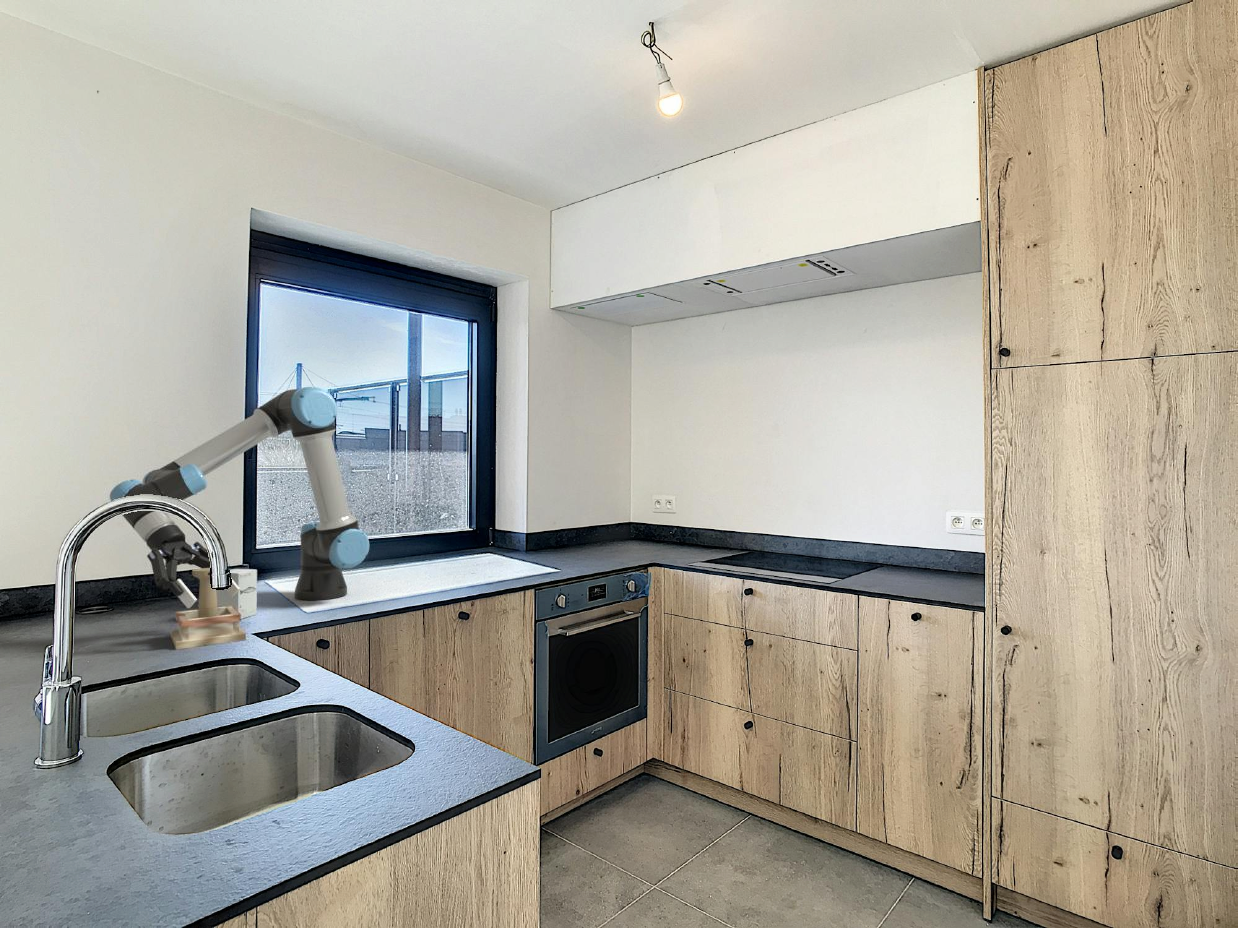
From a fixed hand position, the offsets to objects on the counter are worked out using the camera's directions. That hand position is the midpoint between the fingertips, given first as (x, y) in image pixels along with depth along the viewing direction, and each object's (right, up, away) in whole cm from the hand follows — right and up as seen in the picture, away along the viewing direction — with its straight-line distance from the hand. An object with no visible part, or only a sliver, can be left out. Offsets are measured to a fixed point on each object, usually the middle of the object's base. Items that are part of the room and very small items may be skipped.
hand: (215, 598), depth 165 cm
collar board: (-2, -10, +1) cm, 10 cm away
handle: (-2, -8, +1) cm, 9 cm away
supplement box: (-7, -10, +23) cm, 26 cm away
